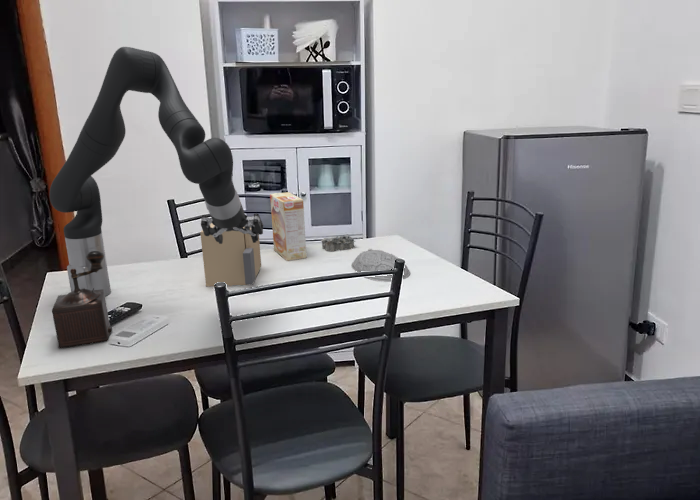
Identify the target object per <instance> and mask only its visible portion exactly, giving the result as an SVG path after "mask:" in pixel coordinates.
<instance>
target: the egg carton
mask: <svg viewBox="0 0 700 500" xmlns="http://www.w3.org/2000/svg"><path fill="white" fill-rule="evenodd" d="M320 242H321V246H322V247H321V248H322V249H323V250H325V251H326V252H335V251H344V250H345V248H349V250H351V248H352V249H354V248H355V243H356V242H357V241H356V240H354V238H353V237H352V236H350V235H349V234H345V235H343V236H342V235H339V236H337V235H336V236H335V237H324V238H322V239H321V240H320ZM353 247H354V248H353Z"/></svg>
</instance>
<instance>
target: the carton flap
mask: <svg viewBox="0 0 700 500" xmlns="http://www.w3.org/2000/svg"><path fill="white" fill-rule="evenodd" d="M250 230H251V228H250ZM258 235H259V236H258V241H256V243H253V241H252V238H251V235H249V234H245V241H246V249H245V251H244V252H243V262H244V273H245V285H248V286H253V285H254V282H255V281H256V279H257V276H258V274H259V271H260V270H261V268H262V257H261V244H260V234H258Z"/></svg>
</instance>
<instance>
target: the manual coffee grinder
mask: <svg viewBox="0 0 700 500" xmlns="http://www.w3.org/2000/svg"><path fill="white" fill-rule="evenodd" d="M86 259H87V260H88V261H89V263H90V264H91V268H90V271H87V272H83V273H78V274H76V269H71V270H70V273H71V278H73V282H74V288H75V289H74V291H71V290H70V292H68V293H65V294H59V295H57V296H56V300H55V302H54V305H53V307H52V309H51V313H52V318H53V324H54V330H55V332H56V333H55V334H56V338H57V344H58V345H57V346H58V349H66V348H74V347H80V346H87V345H93V344H100V343H105V342H108V341H109V338H110V335H111V332H112V331H113V327H112V325H111V322H110V320H109V312H108V306H107V301H106V296H105V294H104V289H101V290H94V288H93V290H88V289H85V288H83V289H80V288H79V285H78V281H77V278H78V277H81V276H85V275H88V274H90V273H93V272H96V273H97V271H99V270H100V269H103V267H102V266H101V262H102V260H103V259H104V255H103V253H102V252H100V251H92V252H89V253H88V254H87V256H86Z"/></svg>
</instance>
